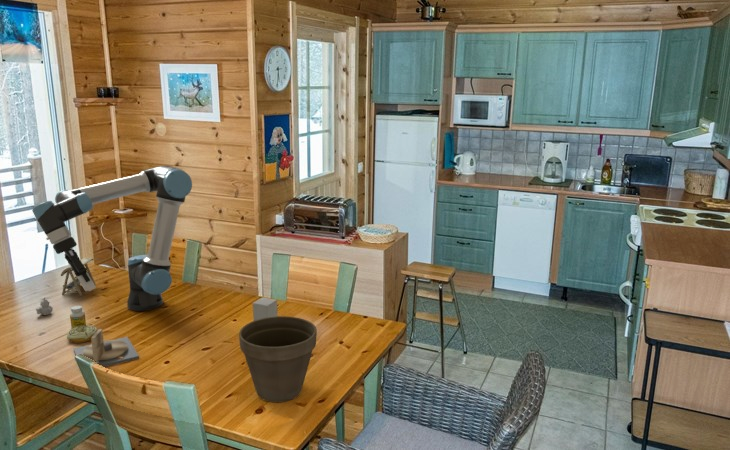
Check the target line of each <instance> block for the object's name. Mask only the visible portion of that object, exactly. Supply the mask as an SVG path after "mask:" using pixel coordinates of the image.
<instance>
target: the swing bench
mask: <svg viewBox="0 0 730 450" xmlns="http://www.w3.org/2000/svg"><path fill="white" fill-rule="evenodd" d="M80 261H81V262H82V264H83V265H84V267H85V268H86V269H87V272H88V274H89V276H90V278H91V279H92V281H93V283H94V284H95V286H97V284H96V282H95V279H94V277H93V275H92V273H91V270H90V267H89V266H88V264H89V263H90V262H91V261H94V258H93V257H83V258H81V259H80ZM73 272H74V271H73V269H72V267H71V266H69V267H66V268H65V269H64V270H63V271H62V272H61V273H60V276H61V277H63V276H64V275H65V279H64V282H63V283H64V284H63V285H62V287H63V289H62V293H61V295H62V296H65V295H66V293H75V294H77V293H78V295H79V296H80V297H82V296H83V293H82V291H81V288H80V286H81V283H80V281H79V279H78V278H77V276H76V275H74V274H73ZM69 276H70V277H71V279H72V280H71V281H70V282H68V280H69ZM75 288H76V290H77V291H76V290H74V289H75Z"/></svg>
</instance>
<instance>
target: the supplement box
mask: <svg viewBox="0 0 730 450" xmlns="http://www.w3.org/2000/svg"><path fill="white" fill-rule="evenodd" d="M252 315H253V319H252V321H255V320H258V319H262V318H267V317H275V316H278V299H274V298H268V297H261V298H259V299H257V300H255V301H253V302H252Z"/></svg>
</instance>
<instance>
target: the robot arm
mask: <svg viewBox="0 0 730 450" xmlns="http://www.w3.org/2000/svg"><path fill="white" fill-rule="evenodd" d="M192 188H193V181H192V178H191V176H190V174H189V173H187V172H186V171H184V170H183V169H182V168H178V167H173V166H171V165H161V166H156V167H153V168H149V169H145V170H140V173H139V174H133V175H130V176H125V177H122V178H117V179H113V180H109V181H105V182H100V183H97V184H91V185H89V186H88V185H87V186H84V187H80V188H75V189H71V190H69V189H62V190H60V191H58V192H57V193H56V194H55V198H54V201H55V203H54V202H53V201H52V200H46V201H44V202H41V203H39V204H37V205H35V206H34V207H33V208H32V214H33V216H34V218H35V219H36V221H37V222H38V225H39V226H40V227H41V230H42V231H43V232H44V234H45V235H46V238H45V239H46V241H49V242H50V244H51V245H52V247H53V249H54V251H55V253H56V254H57V255H60V254H62V253H64V259H65V260H66V261H67V263H68V265H69V267H72V269H73V271H72V272H73V273H74V276H75V277H76V276H77V278H78V279H79V281H80V286H82V288H83V290H84V291H85V292H90V291H93V290H94V289H96V288H97V287H96V286H97V285H95V284H96V283H95V284H94V283H93V281H92V279H91V278H90V276H89V274H88V271H87V269H86V267H85V265H83V264H82V262H81V261H80V260H81V259H80V257H79V256H78V253H77V251H75V250H74V249H72V248H75V247H76V246H77V245H78V244H77V242H76V240H75V239H74V236H73V237H72V233H71V232H70V230H69V228H68V226H67V224H65V222H68V221H70V220H72V219H74V218H77V217H79V216H81V215H84V214H87V213H88V212H90V211H92V210H93V208H94V204H97V203H98V204H99V203H103V202H107V201H110V200H111V201H112V200H115V199H118V198H123V197H127V196H131V195H135V194H139V193H143V192H146V193H148V194H149V193H152V192H156V195H155V198H156V199H157V201H158V205H157V210H156V215H155V218H154V223H153V227H152V228H153V229H152V232H151V237H150V243H149V247H148V251H147V254H141V255H140V254H139V255H134V256H131V257H129V258H128V260H127V269H128V280H129V293H128V297H127V301H126V305H127V309H129V310H130V311H135V312H146V311H147V312H148V311H151V310H156V309H158V308H160V307H161V306H162V305H163V304H164V299H163V296H162V294H163V293H165V292H167V291H168V290H169V288H170V287H171V285H172V283H173V281H172V279H173V278H172V275H171V272H170V271H171V266H172V263H171V262H170V260H169V258H170V254H171V253H170V252H171V250H172V245H173V239H174V234H175V230H176V226H177V222H178V221H177V220H178V217H179V216H178V215H179V211H180V206H181V205H183V204H184V203H186V197H187V196H188V195H189V194H190V193H191V191H192Z"/></svg>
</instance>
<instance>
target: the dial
mask: <svg viewBox="0 0 730 450" xmlns="http://www.w3.org/2000/svg"><path fill="white" fill-rule="evenodd" d="M103 332H104V331H103V328H99V329H97V332H96V333H95V334H94V335H93V336H92V337H91V340H90V341H91V344H92V345H91V344H89V345H90V346H88V347H86V348H85V349H84V351H83V355H84V356H86V357H88V358H90V359H92V360H94V361H104V360H110V359H113V358H116V357H119V356H121V355H123V354H124V353H125V352H126V351H127V349H128V346H127V343H125V342H124V341H120V340H115V339H108V340H104V333H103Z"/></svg>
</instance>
